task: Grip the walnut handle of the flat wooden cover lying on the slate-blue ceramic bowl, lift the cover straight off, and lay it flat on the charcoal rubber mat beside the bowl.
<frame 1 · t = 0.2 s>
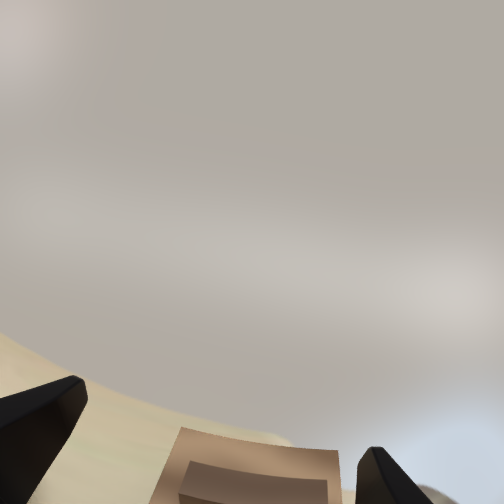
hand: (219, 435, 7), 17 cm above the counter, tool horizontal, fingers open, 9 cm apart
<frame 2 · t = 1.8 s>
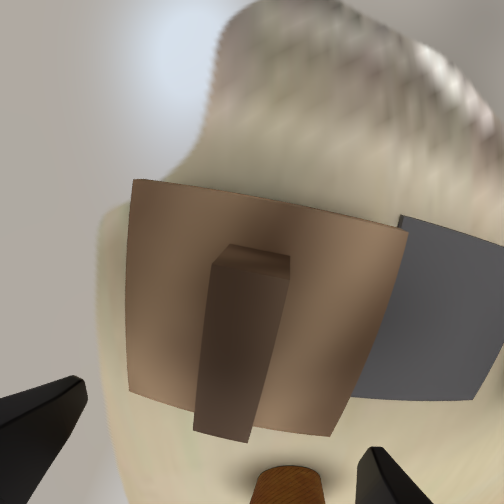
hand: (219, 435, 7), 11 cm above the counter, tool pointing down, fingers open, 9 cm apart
disposable coffee cup: (289, 479, 23), on the counter
mat: (449, 325, 17), on the counter
cover: (246, 324, 14), point 4 cm above the counter, touching bowl
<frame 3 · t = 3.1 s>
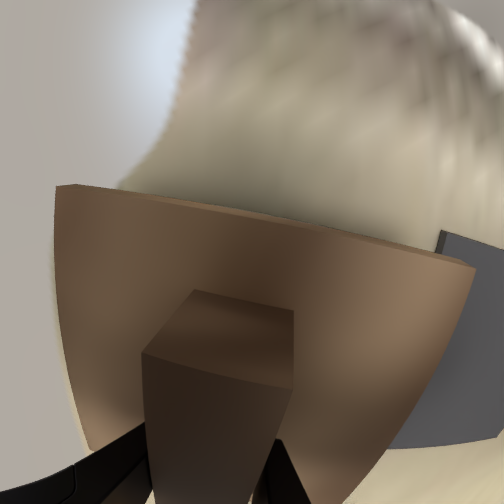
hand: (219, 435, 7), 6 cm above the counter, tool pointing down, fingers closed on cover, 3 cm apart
mat: (484, 364, 12), on the counter
cover: (228, 393, 9), point 4 cm above the counter, touching gripper
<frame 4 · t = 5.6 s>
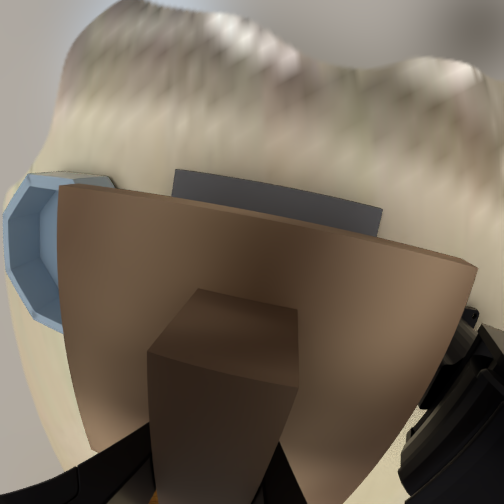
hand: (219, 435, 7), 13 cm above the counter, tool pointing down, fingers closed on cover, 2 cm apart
bowl: (83, 243, 21), on the counter
mat: (260, 285, 20), on the counter
cover: (231, 392, 9), point 11 cm above the counter, touching gripper
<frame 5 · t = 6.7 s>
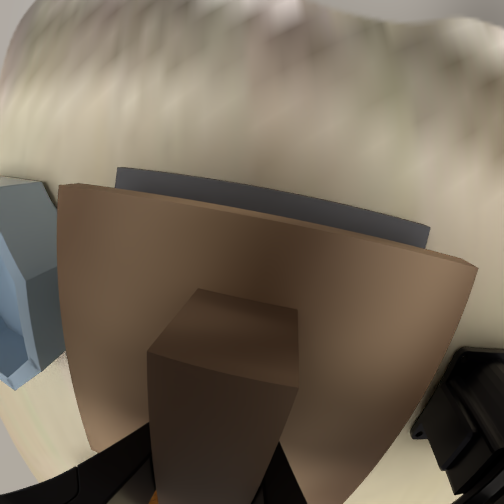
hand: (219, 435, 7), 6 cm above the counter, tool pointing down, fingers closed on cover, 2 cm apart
bowl: (23, 268, 14), on the counter
mat: (244, 336, 13), on the counter
cover: (231, 392, 9), point 4 cm above the counter, touching gripper
when the fingers open (4 cm above the counter, at t = 7.8 s): cover drops 1 cm, resting on mat.
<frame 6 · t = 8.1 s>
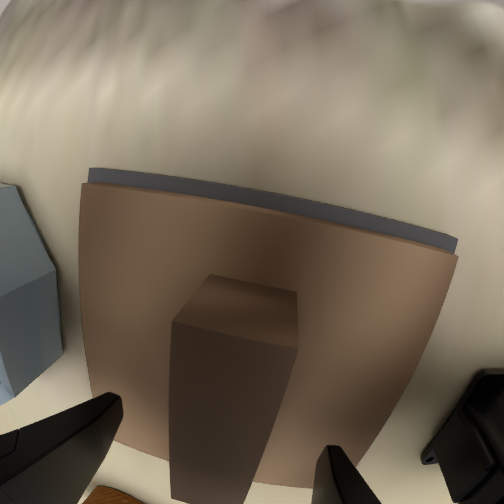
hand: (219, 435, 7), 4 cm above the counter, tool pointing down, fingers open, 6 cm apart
disposable coffee cup: (128, 503, 17), on the counter
bowl: (0, 279, 12), on the counter
mat: (238, 364, 11), on the counter
cover: (237, 372, 10), point 1 cm above the counter, touching mat
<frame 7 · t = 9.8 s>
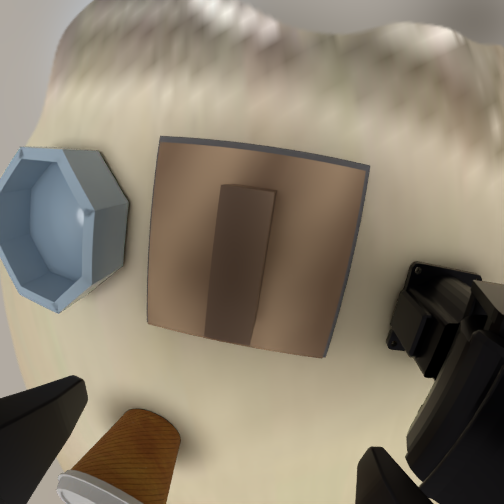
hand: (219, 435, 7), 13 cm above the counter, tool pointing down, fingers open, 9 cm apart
disposable coffee cup: (152, 429, 25), on the counter
bowl: (72, 219, 20), on the counter
mat: (247, 249, 19), on the counter
cover: (247, 251, 18), point 1 cm above the counter, touching mat
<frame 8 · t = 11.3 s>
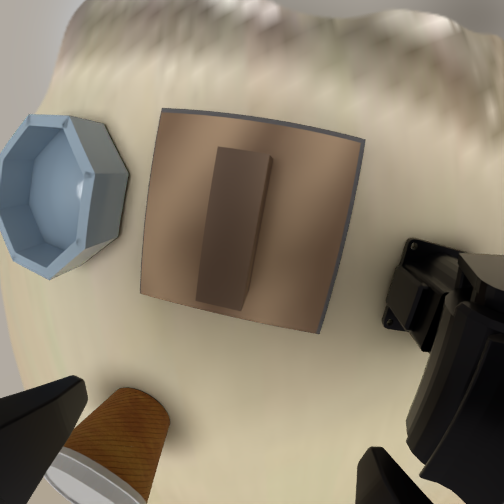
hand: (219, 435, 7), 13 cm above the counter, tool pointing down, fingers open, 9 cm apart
disposable coffee cup: (141, 410, 25), on the counter
bowl: (72, 190, 20), on the counter
mat: (243, 219, 19), on the counter
cover: (242, 220, 18), point 1 cm above the counter, touching mat
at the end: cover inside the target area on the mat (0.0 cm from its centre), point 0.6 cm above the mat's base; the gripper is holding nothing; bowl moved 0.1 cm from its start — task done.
